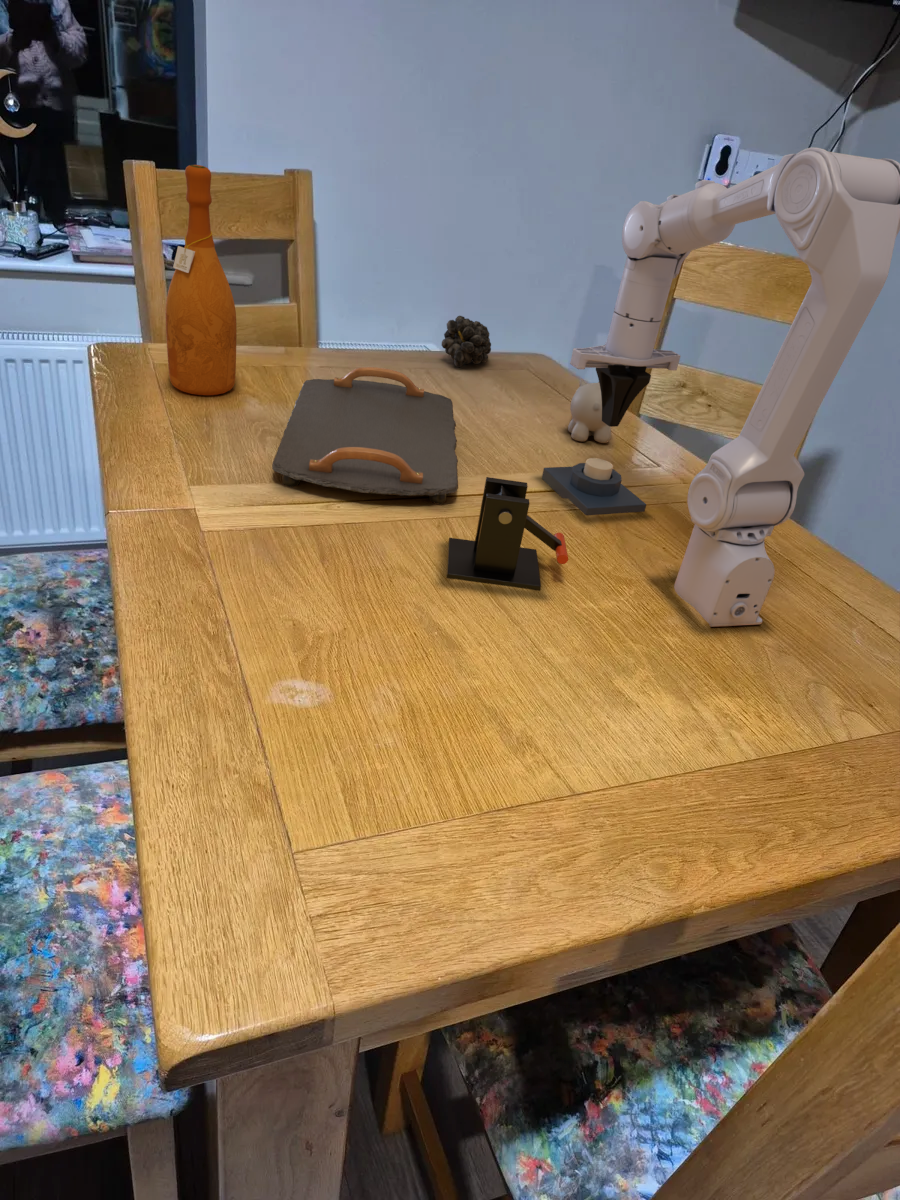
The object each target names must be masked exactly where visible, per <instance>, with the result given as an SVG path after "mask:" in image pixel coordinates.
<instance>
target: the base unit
mask: <svg viewBox="0 0 900 1200" xmlns="http://www.w3.org/2000/svg"><path fill="white" fill-rule="evenodd" d="M585 463H586V462H579V463H577V464H575V465H573V466H554V467H553V466H550V467H543V471H542V475H541V480H543V482H544V483H546V484H547V486H549V488H551V489H552V490H553V491H554V492H555V493H556V494H557V495H558V496H559V497H560V498H561V499H567V500H569V501H570V502H571V504H573V505H574V506H575V507H576V508H577V509H578V510H579V511H580V512H581V513H582V514H583V515H584V516H600V515H615V514H629V513H644V512H645V511H646V507H647V503H646V502H644V501H643V500H642V499H641V498H639V497H638V496H637V495H636V494H634V493H633V491H631V490H630V489H629V488H628V487H626V485H624V484H623V483H622V474H620V472H618V471H617V470H615V468H613V469H612V473H611V477H610V479H609V480H597V479H593V478H590V477H588V476H586V475H585V474H583V471H584V467H585Z"/></svg>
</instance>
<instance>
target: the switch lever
mask: <svg viewBox="0 0 900 1200" xmlns="http://www.w3.org/2000/svg"><path fill="white" fill-rule="evenodd" d="M494 494H496V495H503V496H510V497H516V496H515V495H514V494H512V493H511V492H510V491H508V490H507V489H506V488H505V487H503V486H501V487H500V488H499V489H498V490H497V491H496V492H495V493H494ZM517 498H518V497H517ZM524 530H526V531H528V532H529V533H530V534H532V535H533V536H534V537H536V538H537V539H538V540H539V541H541V542H542V543H543V544H545V545H546V546H547V547H549V548H550V549H552V550H553V551H554V552H555V556H556V561H557V563H558V564H559V565H565V564H567V563H568V562H569V554H568V549H567V544H566V539H565V534H564V533H562V532H555V533H554V534H553V533H552V532H550V531H549V530H548V529H546V528H545V527H544V526H543V525H541V523H539V522H537V521H536V520H535V519H533V518H532V517H530V516H529V515H528V514H527V518H526V523H525V527H524Z"/></svg>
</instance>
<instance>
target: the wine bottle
mask: <svg viewBox="0 0 900 1200" xmlns="http://www.w3.org/2000/svg"><path fill="white" fill-rule="evenodd" d="M184 176H185V181H186V183H185V185H186V195H185V201H186V202H187V203H188V222H187V223H188V224H187V225H188V226H187V230H186V234H185V236H184V247H183V246H180V245H178V246H177V249H176V253H175V257H174V262H173V266H172V268H173V269H175V270H174V272H173V275H172V277H171V280H170V283H169V287H168V291H167V295H166V299H165V301H166V302H165V335H166V336H165V337H166V351H167V352H166V353H167V365H168V366H167V367H168V375H169V381H170V383H171V385H172V386H173V387H174V388H175V389H177V390H178V391H181V392H184V393H185V394H191V395H197V396H217V395H222V394H225V393H227V392H230V391H231V390H232V389H233V388H234V386H235V383H236V373H237V371H236V370H237V311H236V310H237V309H236V304H235V300H234V296H233V292H232V290H231V286H230V284H229V281H228V278H227V276H226V273H225V271H224V269H223V266H222V264H221V261H220V259H219V256H218V253H217V251H216V248H215V247H216V246H215V242H214V237H213V231H212V228H211V220H210V219H211V218H210V217H211V216H210V205H212V203H213V202H212V201H213V200H212V195H211V184H212V172H211V170H210V169H209V168H208V167H206V166H205V165H200V164H189V165H187V166H186V167H185V170H184Z"/></svg>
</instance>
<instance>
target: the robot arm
mask: <svg viewBox="0 0 900 1200" xmlns="http://www.w3.org/2000/svg"><path fill="white" fill-rule="evenodd" d="M771 215H775V216H776V218H777V221H778V223H779V225H780V226H781V228H782V230H783V232H784V233H785V235H786V236H787V238H788V240H789V241H790V243H791V244H792V246H793V248H794V250H795V252H796V253H797V255H798V256H799V258H800V260H801V261H802V263H804V264H805V265H807V268H808V270H809V274H810V277H811V283H810V284H809V285H810V286H809V287H808V290H807V292H806V294H805V295H804V298H803V300H802V302H801V304H800V306H799V308H798V310H797V312H796V315H795V317H794V318H793V320H792V323H791V325H790V328H789V329H788V332H787V333H786V336H785V338H784V340H783V342H782V344H781V346H780V348H779V351H778V353H777V355H776V356H775V359H774V361H773V362H772V363H773V364H772V365H771V368H770V369H769V372H768V374H767V376H766V377H765V380H764V382H763V385H762V386H761V389H760V390H759V393H758V395H757V397H756V399H755V401H754V404H753V406H752V407H751V409H750V411H749V414H748V416H747V418H746V420H745V422H744V425H743V426H742V429H741V431H740V433H739V434H738V436H736V437H735V438H734V439H732V440H730V441H729V442H728V443H726V444H724V445H723V446H721V447H720V448H718V449H717V450H715V451H713V453H712V454H711V455H710V457H709V460H708V462H707V463H706V465H705V466H704V468H702V470H700V471H699V472H698V473H696V475H695V476H694V477H693V478H692V480H691V483H690V484H689V488H688V493H687V507H688V508H687V509H688V513H689V516H690V521H691V522H692V523H693V524H694V526H693V529H692V531H691V535H690V537H689V541H688V543H687V547H686V550H685V552H684V555H683V558H682V561H681V563H680V567H679V570H678V573H677V576H676V578H675V581H674V584H673V588H674V591H675V593H676V594H677V596H678V597H679V598H680V599H682V600H683V601H684V602H685V603H687V604H688V605H690V607H692V608H694V610H695V611H696V612H697V613H698V614H699V615H700V616H701V617H702V619H703V620H704V621H705V622H707V624H708V625H709V627H711V628H712V627H713V628H714V627H715V628H716V627H732V626H734V627H735V626H754V625H757V626H758V625H761V624H762V623H763V619H762V617H760V612H761V610H762V608H763V606H764V603H765V600H766V598H767V595H768V593H769V591H770V588H771V586H772V583H773V581H774V578H775V573H776V572H775V571H776V570H775V565H774V563H773V561H772V560H771V558H770V556H769V555H768V553H767V550H766V547H765V546H766V545H765V539H766V538H767V537H771V536H772V533H773V531H774V529H775V527H778V526H780V525H783V524H784V523H785V522H787V521H788V520H789V519H790V518H791V516H792V515H793V513H794V510H795V508H796V503H797V497H798V490H799V487H800V484H801V482H802V480H803V478H804V477H805V475H806V474H805V472H804V468H803V467H802V465H801V463H800V462H799V460H798V459H797V457H796V455H795V454H796V451H797V450H798V448H799V447H800V444H801V442H802V440H803V438H804V437H805V434H806V432H807V431H808V429H809V427H810V425H811V423H812V421H813V420H814V419H815V418H814V417H815V416H816V414H817V412H818V410H819V408H820V407H821V405H822V403H823V401H824V399H825V397H826V395H827V394H828V391H829V390H830V388H831V386H832V384H833V382H834V380H835V378H836V376H837V375H838V373H839V371H840V369H841V368H842V365H843V363H844V361H845V360H846V358H847V356H848V354H849V352H850V350H851V348H852V346H853V345H854V343H855V341H856V339H857V337H858V335H859V333H860V332H861V329H862V328H863V326H864V324H865V323H866V321H867V319H868V316H869V315H870V313H871V311H872V309H873V307H874V305H875V303H876V301H877V299H878V297H879V295H880V294H881V292H882V290H883V288H884V286H885V284H886V282H887V280H888V278H889V277H888V276H889V273H890V267H891V263H892V258H893V254H894V248H895V243H896V238H897V237H898V234H899V232H900V162H898V161H897V160H896V159H892V158H886V157H883V158H872V157H866V156H859V155H853V154H847V153H842V152H841V153H840V152H836V151H835V152H833V151H827V150H826V149H824V148H820V147H816V146H815V147H807V148H805V149H802V150H800V151H799V152H797V153H789V154H785V155H782V157H781V158H780V161H779V162H778V163H777V164H775V165H773V166H772V167H769V168H767V169H765V170H763V171H761V172H759V173H757V174H754V175H753V176H751V177H749V178H746V179H745V180H744V179H743V180H742V181H740V182H737V183H735V184H734V185H732V186H730V187H727V186H725V185H723V184H721V183H718V182H717V183H716V181H715V180H708V179H702V180H699V181H697V182H696V183H695V189H693V190H690V191H688V192H685V193H683V194H674V193H673V194H671V195H669V196H667V197H666V200H665V201H664V202H661V203H660V204H654V203H652V202H650V201H646V200H640V201H639V202H638V203H636V204H635V205H634V206H632V207H631V209H629V211H628V213H627V215H626V216H625V219H624V222H623V224H622V225H623V226H622V230H621V243H622V244H621V245H622V248H623V252H624V254H626V259H625V263H624V266H623V271H622V274H621V275H622V276H621V279H620V284H619V288H618V291H617V297H616V300H615V304H614V308H613V313H612V318H611V321H610V326H609V330H608V334H607V336H606V337H607V338H606V341H605V343H604V344H601V345H597V346H595V345H594V346H589V347H574V348H573V349H572V352H571V357H570V361H569V365H571V366H572V367H574V368H575V369H577V370H586V368H587V369H588V368H589V369H590V368H591V369H595V372H596V376H597V379H598V382H599V383H600V389H601V397H602V422H604V423H605V424H607V425H608V426H610V428H611V427H613V428H614V427H615V428H616V427H619V426H620V424H621V422H622V420H623V418H624V416H625V414H626V413H627V411H628V409H629V407H630V406H631V404H632V403H633V401H635V399H636V398H637V396H639V394H640V393H641V392H642V391H643V389H645V387H647V386H648V385H649V384H650V381H651V378H652V375H651V373H649V372H647V369H657V370H658V369H661V370H662V369H664V370H668V371H674V372H676V371H677V370H678V366H679V363H680V359H681V357H682V356H681V354H679V353H677V352H675V351H673V350H668V349H667V350H665V349H658V348H657V349H656V348H655V346H656V342H657V338H658V334H659V331H660V327H661V324H662V319H663V316H664V313H665V309H666V304H667V302H668V297H669V294H670V290H671V287H672V284H673V283H672V282H673V280H674V279H676V278H677V276H678V275H679V274H680V271H681V267H682V265H683V263H684V261H685V260H686V259H687V258H688V257H689V255H690V254H691V252H692V251H695V250H698V249H701V248H705V247H708V246H711V245H714V244H717V243H721V242H723V241H724V240H726V239H727V238H728V237H729V236H731V234H732V233H733V230H734V229H735V226H736V225H737V224H741V223H745V222H748V221H749V222H750V221H752V220H756V219H757V220H758V219H761V218H764V217H768V216H771Z"/></svg>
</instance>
